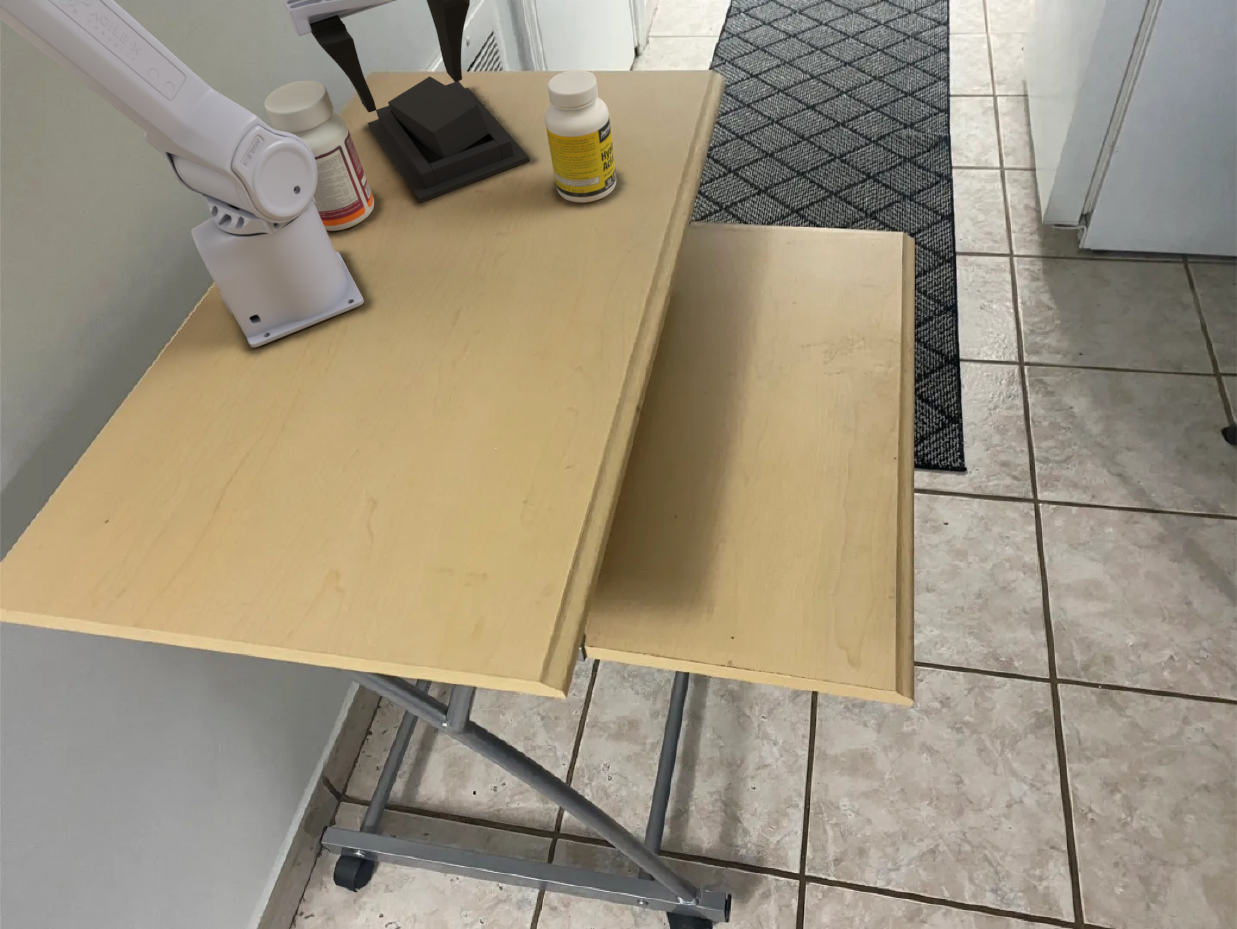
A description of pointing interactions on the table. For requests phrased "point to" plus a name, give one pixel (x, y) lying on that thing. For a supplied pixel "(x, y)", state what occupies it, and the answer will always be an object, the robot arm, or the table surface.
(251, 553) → the table surface
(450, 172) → the base pad
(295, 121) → the pill bottle
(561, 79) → the supplement bottle
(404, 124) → the charcoal block
